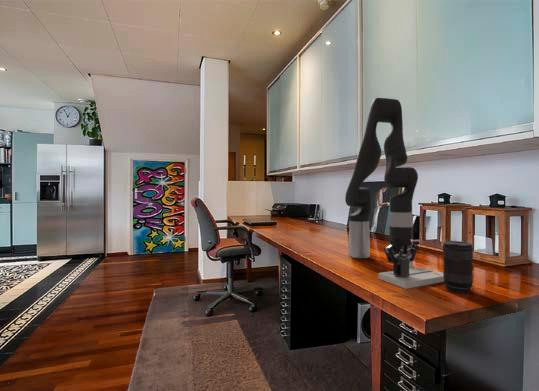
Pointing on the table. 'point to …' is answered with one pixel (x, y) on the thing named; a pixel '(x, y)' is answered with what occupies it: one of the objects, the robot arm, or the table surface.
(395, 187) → the robot arm
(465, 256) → the camera lens
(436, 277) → the fader console
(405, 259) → the fader tab
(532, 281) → the table surface
